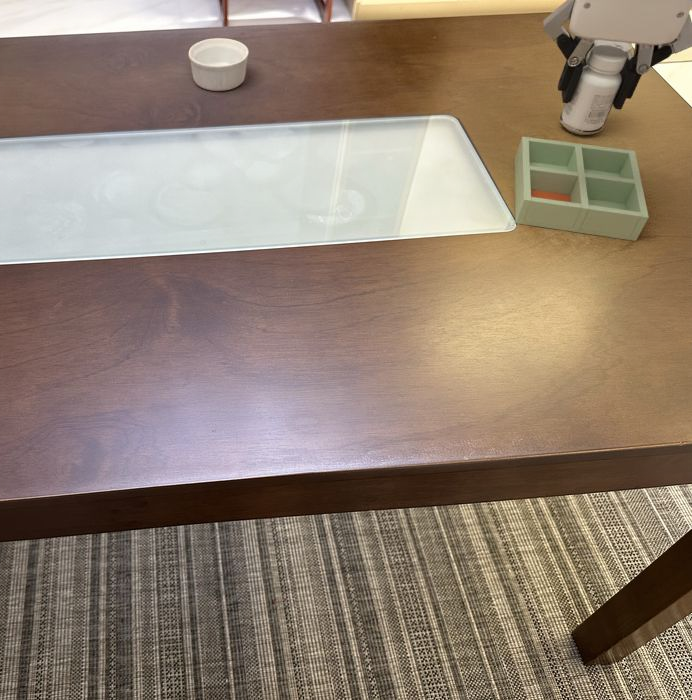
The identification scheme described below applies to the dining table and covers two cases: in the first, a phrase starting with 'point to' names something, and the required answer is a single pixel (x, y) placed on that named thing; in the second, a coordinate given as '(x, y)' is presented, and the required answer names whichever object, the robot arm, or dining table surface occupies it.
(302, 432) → the dining table surface
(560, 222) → the grid
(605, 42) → the beverage can
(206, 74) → the ramekin
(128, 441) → the dining table surface
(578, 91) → the pill bottle
